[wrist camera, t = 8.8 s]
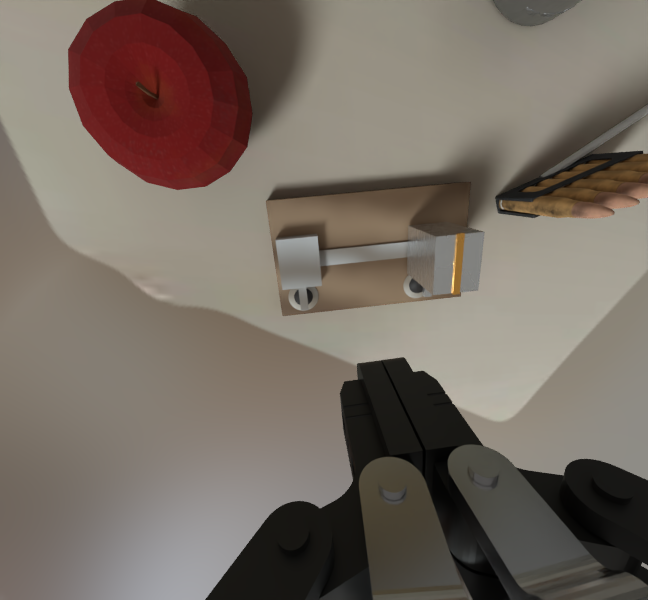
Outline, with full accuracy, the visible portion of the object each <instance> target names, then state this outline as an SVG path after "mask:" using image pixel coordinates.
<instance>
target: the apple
mask: <svg viewBox="0 0 648 600" xmlns="http://www.w3.org/2000/svg"><path fill="white" fill-rule="evenodd" d="M68 60H69V90H70V92H71V95H72V98H73V100H74V103H75V106H76V108H77V111H78V114H79V116H80V119H81V122H82V124H83V126H84V127H85V128H86V130H87V131H88V132H89V133H90V134H91V136H92V137H93V138H94V139H95V140H96V141H97V143H98V144H99V145H100V146H101V147H102V149H103V150H104V151H105V152H106V153H107V154H108V155H109V156H110V157H111V158H112V159H114V160H115V161H116V162H117V163H119V164H120V165H122V166H123V167H125V168H126V169H128V170H129V171H131V172H132V173H134V174H135V175H137V176H138V177H140V178H141V179H143V180H144V181H146V182H148V183H152V184H156V185H160V186H164V187H168V188H172V189H176V190H180V189H189V188H197V187H205V186H208V185H209V184H211V183H212V182H214V181H216V180H217V179H219V178H220V177H222V176H224V175H225V174H227V173H229V172H230V171H231V170H232V168H233V167H234V165H235V164H236V162H237V161H238V160H239V158H240V157H241V155H242V154H243V152H244V151H245V150H246V148H247V145H248V139H249V133H250V127H251V120H252V107H251V101H250V95H249V89H248V82H247V77H246V75H245V74H244V72H243V70H242V69H241V67H240V66H239V64H238V63H237V61H236V59H235V58H234V56H233V55H232V53H231V52H230V50H229V48H228V47H227V45H226V44H225V43H224V42H223V41H222V40H221V39H220V38H219V37H218V36H217V35H216V34H215V33H214V32H212V31H211V30H210V29H209V28H208V27H207V26H206V25H205V24H204V23H203V22H202V21H201V20H200V19H199V18H198V17H196V16H194V15H191V14H188V13H186V12H183V11H180V10H178V9H176V8H173V7H171V6H169V5H166V4H164V3H161V2H159V1H157V0H121V1H115V2H113V3H111V4H110V5H108V6H107V7H105V8H103V9H102V10H100V11H99V12H97V13H95V14H94V15H92V16H91V17H89V18H87V19H86V21H85V22H84V24H83V26H82V27H81V29H80V31H79V32H78V34H77V36H76V37H75V39H74V41H73V42H72V44H71V46H70V47H69V49H68Z"/></svg>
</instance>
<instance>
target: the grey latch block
mask: <svg viewBox="0 0 648 600" xmlns="http://www.w3.org/2000/svg"><path fill="white" fill-rule="evenodd" d="M483 241H484V232H483V231H479V230H476V229H472V228H468V227H465V226H461V225H457V224H454V223H450V222H439V223H429V224H419V225H409V226H408V258H407V274H408V275H409V276H410V277H412V278H413V279H414V280H415V281H416V282H418V283H419V284H420V285H421V286H422V287H423V290H422V295H423V296H424V297H431V296H432V295H440V294H449V293H452V294H453V295H456V294H460V292H467V291H476V290H478V286H479V277H480V268H481V259H482V250H483Z"/></svg>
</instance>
